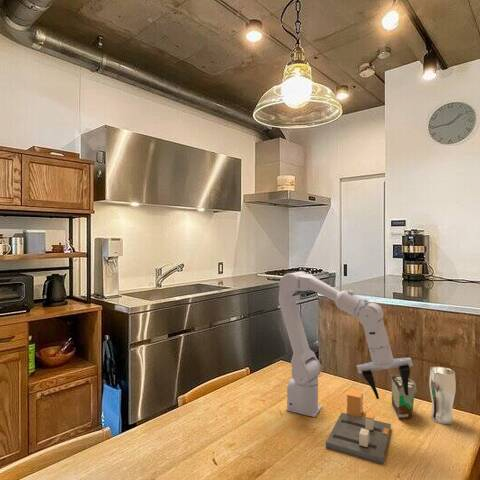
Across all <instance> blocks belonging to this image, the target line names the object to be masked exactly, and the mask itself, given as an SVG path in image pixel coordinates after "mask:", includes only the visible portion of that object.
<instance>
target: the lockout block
mask: <svg viewBox="0 0 480 480" xmlns="http://www.w3.org/2000/svg"><path fill="white" fill-rule="evenodd" d="M363 395H364V393H363V392H361V391H357V390H351V389H349V391H348V393H347V395H346V414H351V415H355V416H359V417H361V416H362V414H363V411H364V408H363V407H364V406H363V405H364V401H363V399H364V396H363Z"/></svg>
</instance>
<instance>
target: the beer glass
mask: <svg viewBox="0 0 480 480" xmlns="http://www.w3.org/2000/svg"><path fill="white" fill-rule="evenodd" d="M428 379H429V382H428V383H429V385H428V386H429V392H430V393H429V394H430V399H431V406H432V407H431V413H430V418H431V420H432V421H433V422H434V423H435V422H436V423H437V424H439V425H449V426H450V425H453V424H454V415H453V405H454V401H455V398H456V397H455V396H456V389H457V388H456V387H457V386H456V385H457V384H456V383H457V381H456V371H454V370H453V369H451V368H448V367H445V366H444V367H443V366H430V369H429V378H428Z"/></svg>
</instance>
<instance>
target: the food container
mask: <svg viewBox="0 0 480 480" xmlns="http://www.w3.org/2000/svg"><path fill="white" fill-rule="evenodd" d="M390 380H391V406H392V408H393V411H394V412H395V415H396V417H397V419H398V420H400V421H401V420H402V421H403V420H410V419H412V417H413V413H414V401H415V394H417V392H418V389H417V385H416V383H415V381H414V380H412V379H411V378H409V379H408V394H409V395H405V392H404V389H403V384H402V379H401V375H400V374H395V373H391V376H390Z"/></svg>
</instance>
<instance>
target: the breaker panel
mask: <svg viewBox="0 0 480 480" xmlns="http://www.w3.org/2000/svg"><path fill="white" fill-rule="evenodd" d="M361 428H363V429H365V417H359V416H355V415H351V414H347V412H341V413H340V415H339V416H338V419H337V420H336V422H335V424H334V425H333V428H332V430H331V432H330V433H329V436H328V437H327V439H326V441H325V449H329V450H332V451H335V452H340V453H343V454H346V455H349V456H353V457H357V458H360V459H363V460H367V461H369V462H373V463H377V464H380V465H384V462H385V456H386V453H387V447H388V443H389V440H390V436H391V435H390V434H391V430H392V423H388V422H384V421H381V420H380V421H379V420H375V419H374V428H373V430H369V429H367V430H369V444H368V447H364V446H361V445H359V433H360V430H361Z"/></svg>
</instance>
